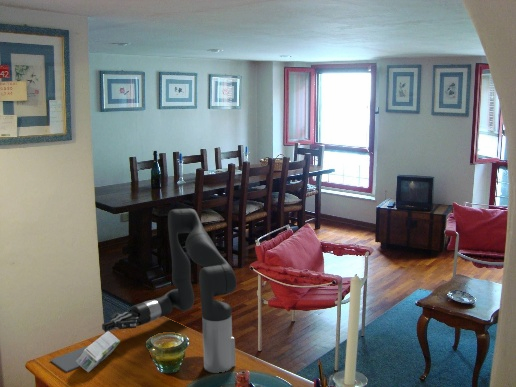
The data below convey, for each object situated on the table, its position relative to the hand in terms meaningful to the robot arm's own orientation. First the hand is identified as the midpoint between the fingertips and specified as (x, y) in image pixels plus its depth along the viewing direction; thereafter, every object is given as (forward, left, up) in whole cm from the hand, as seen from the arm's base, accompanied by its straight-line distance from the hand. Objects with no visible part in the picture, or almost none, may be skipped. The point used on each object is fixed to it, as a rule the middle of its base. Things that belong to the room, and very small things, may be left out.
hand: (103, 327), depth 181 cm
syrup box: (-1, +3, -4) cm, 5 cm away
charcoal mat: (+10, +3, -8) cm, 13 cm away
